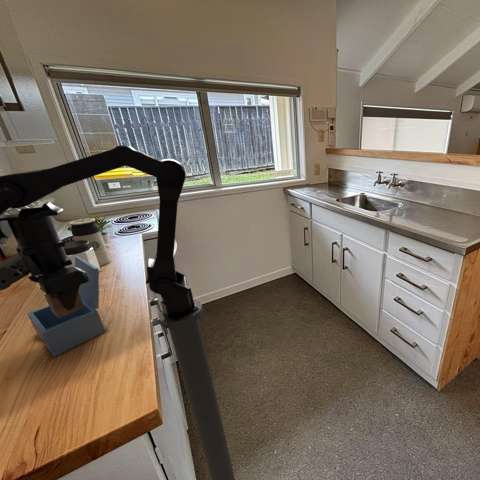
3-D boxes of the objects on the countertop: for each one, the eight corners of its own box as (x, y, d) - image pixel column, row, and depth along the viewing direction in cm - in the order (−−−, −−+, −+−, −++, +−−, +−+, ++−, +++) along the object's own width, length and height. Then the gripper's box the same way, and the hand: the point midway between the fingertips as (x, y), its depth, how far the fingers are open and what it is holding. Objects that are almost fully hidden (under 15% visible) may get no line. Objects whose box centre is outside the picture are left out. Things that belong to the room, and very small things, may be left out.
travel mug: (85, 263, 103) (69, 220, 97) (110, 258, 108) (96, 216, 101) (84, 270, 97) (66, 225, 91) (110, 264, 102) (95, 221, 95)
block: (77, 301, 59) (70, 285, 58) (84, 307, 57) (78, 290, 56) (51, 311, 56) (43, 294, 54) (58, 318, 54) (50, 300, 52)
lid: (94, 268, 61) (98, 268, 61) (74, 256, 68) (78, 256, 68) (94, 309, 62) (98, 308, 63) (75, 293, 69) (79, 292, 70)
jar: (69, 282, 88) (55, 251, 84) (68, 274, 94) (56, 244, 90) (102, 274, 94) (91, 243, 90) (99, 267, 100) (89, 238, 95)
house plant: (103, 254, 111) (91, 218, 105) (72, 254, 112) (58, 218, 106) (127, 242, 125) (117, 209, 119) (100, 242, 125) (88, 210, 119)
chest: (53, 356, 57) (42, 334, 55) (37, 334, 64) (26, 313, 62) (105, 331, 65) (97, 310, 62) (85, 313, 72) (77, 294, 69)
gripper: (-35, 243, 49) (1, 311, 54) (-17, 265, 40) (25, 345, 45) (45, 227, 58) (69, 288, 63) (76, 242, 48) (101, 311, 54)
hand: (66, 305), depth 56 cm, fingers closed on block, 4 cm apart
